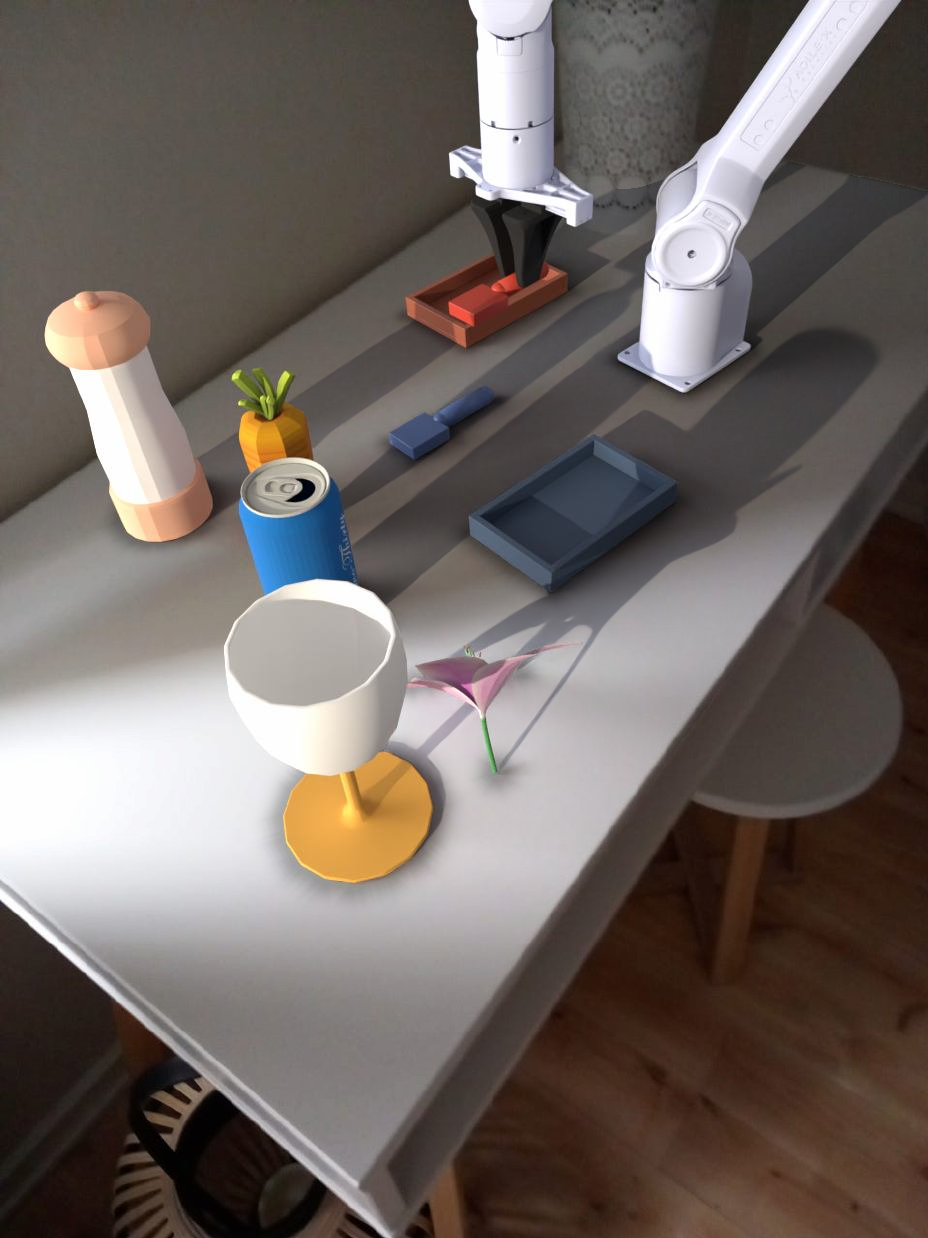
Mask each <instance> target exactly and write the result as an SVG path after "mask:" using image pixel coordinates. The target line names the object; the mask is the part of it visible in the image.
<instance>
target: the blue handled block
mask: <svg viewBox="0 0 928 1238" xmlns="http://www.w3.org/2000/svg"><path fill="white" fill-rule="evenodd" d="M494 397H495V395H494V391H493V389H492V388H491V387H490V386H487V385H482V386H479V387H478V388H476V389H474V390H473V391H470V392H469V393H468V394H465V395H464V396H462V397H461V398H459V399H457V400H455V401H454V402H452V403H450V404H449V405H447V406H445V407H444V408H442V409H440V410H439V411H437V412H435V413H434V415H433V416H432V415H430V414H429V413H427V412H422V413H421V414H419V415H417V416H416V417H413V418H412V419H411V420H409V421H407V422H405V423H403V424H402V425H400V426H398V427H397V428H395V429H393V430H392V431H390V432H389V433H388V435H389V442H390V445H392V446H393V447H395V448H396V449H397V450H399V451H400V452H402V453H403V454H405V455H406V456H407V457H409V458H411V459H412V460H414V461H415V460H417V459H418V458H421V457H422V456H424V455H426V454H427V453H429V452H430V451H432V450H434V449H435V448H437V447H439V446H441V445H442V444H443V443H445V442H447V441H449V440H450V438H451V435H450V428H451V427H452V426H454V425H455V424H457V423H459V422H460V421H462V420H464V419H466V418H467V417H470V416H471V415H472V414H474V413H476V412H478V411H479V410H481V409H482V408H485V406H488V405H489V404H490V403H492V402H493V400H494Z"/></svg>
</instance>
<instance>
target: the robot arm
mask: <svg viewBox="0 0 928 1238" xmlns="http://www.w3.org/2000/svg"><path fill="white" fill-rule="evenodd" d="M553 1H554V0H468V4H469V7H470V10H471V12H472V14H473V16H474V18H475V19H476V23H477V24H476V36H477V43H478V45H477V46H478V49H477V51H476V65H477V67H476V68H477V84H478V86H477V88H478V107H479V109H478V110H479V125H480V147H481V148H477V147H472V146H470V145H463V146H461V147H459V148H457V149H454V150H452V151H450V152H449V153H448V156H449V170H450V172H449V173H450V176H451V177H453V178H456V179H461V178H463V177H465V178H468V179H470V180H472V181H474V182H475V184H476V185H475V195H476V196H475V197H473V198H472V199H471V200H470V206H471V208H470V210H472V212H473V214H474V215H475V216H476V218H477V219H478V221H479V222H480V225H481V226H482V228H483V231H484V232H485V234H486V236H487V238H488V241H489V244H490V246H491V249H492V253H493V252H494V255H495V259H496V262H497V265H498V269H499V272H500V275H501V278H505V277H507V276H509V275H511V274H513V273H514V272H515V274H516V280H517V283H518V286H519V287H522V288H526V287H528V286H530V285H531V284H533V283H535V282H537V281H539V279H540V275H541V271H542V267H543V263H544V261H545V258H546V255H547V253H548V249H549V247H550V243H551V241H552V238H553V236H554V234H555V231H556V229H557V228H558V227H559V224H560V222H561V220H562V219H563V218H565V219H566V224H567V225H569V226H572V227H574V228H577V227H578V226H581V225H583V224H584V223H586V222H588V221H590V220H592V219H593V207H594V194H593V193H591V192H588V191H586V190H584V189H583V188H581V187H580V186H579V185H577V184H576V183H575V182H573V181H572V180H571V179H569V177H567V175H565V174H564V173H562V172H561V171H560V170H559V169H558V168H557V167H556V166H554V163H555V161H554V160H555V157H554V156H555V46H554V43H553V41H552V31H553V30H552V29H553V27H552V22H553V21H552V20H553V19H552V18H553V15H552V13H553V12H552V9H553V8H552V4H553ZM901 1H902V0H808V2H806V5H805V6H804V7H803V9H802V11H801V12H800V13H799V15H798V16H797V18H796V19H795V21H794V22H793V23H792V25H791V26H790V28H789V29H788V31H787V32H786V34H785V35H784V36H783V38H782V40H781V41H780V43H779V44H778V45H777V47H776V48H775V50H774V52H773V53H772V54H771V56H769V59H768V60H767V61H766V63H765V64H764V65H763V68H762V69H761V70H760V72H759V73H758V74H757V76H756V78H755V79H754V81H753V82H752V83H751V85H749V88H748V90H747V91H746V92H745V93H744V95H743V97H742V98H741V99H740V100H739V103H738V104H737V105H736V107H735V108H734V110H733V111H732V113H731V114H730V115H729V117H728V119H727V120H726V121H725V123H724V124H723V126H722V127H721V129H720V130H719V132H718V133H716V135H715V136H713V137H711V138H710V139H709V140H707V141H705V142H704V143H702V144H701V146H700V147H699V149H698V150H697V152H696V153H695V155H694V156H693V158H691V159H690V160H689V161H688V162H687V163H685V164H684V165H682V166H681V167H679V168H677V169H675V170H673V172H671V173H670V174H669V175H668V176H667V177H666V178H665V179H664V180H663V182H662V183H661V185H660V186H659V189H658V192H657V195H656V200H655V201H656V202H655V208H656V209H655V210H656V211H655V212H656V221H655V233H654V238H653V241H652V244H651V251H649V253H648V254H647V256H646V258H645V264H644V265H645V266H644V278H643V279H644V280H643V293H642V304H641V318H640V329H639V340H638V341H637V342H636V343H634V344H632V345H630V346H629V347H628V348H626V349H624V350H623V351H620V352H619V353H618V354H617V360H618V361H619V362H621V363H623V364H625V365H627V366H629V367H631V368H633V369H635V370H637V371H639V372H640V373H643V374H644V375H646V376H648V377H651V378H652V379H655V380H657V381H659V382H661V383H662V384H665V385H666V386H668V387H670V388H673V389H674V390H676V391H678V392H681V393H688V392H689V391H691V390H693V389H694V388H696V387H697V386H699V385H700V384H701V383H703V382H705V381H706V380H708V379H709V378H710V377H712V376H713V375H715V374H717V373H718V372H720V371H721V370H723V369H724V368H726V367H727V366H729V365H730V364H732V363H733V362H734V361H736V360H737V359H739V358H740V357H742V356H744V355H746V354H747V353H748V352H749V351H750V350H751V347H752V345H751V344H750V343H748V342H747V341H745V340H744V337H745V331H746V326H747V321H748V315H749V314H748V313H749V309H750V303H751V296H752V290H753V275H752V270H751V267H750V265H749V262H748V260H747V259H746V257H745V256H744V255H743V253H741V251H739V250H738V249H737V248H736V247H735V246H736V242H737V240H738V238H739V236H740V234H741V233H742V231H743V230H744V229H745V227H746V226H747V224H748V223H749V222H750V220H751V218H752V215H753V213H754V209H755V207H756V204H757V202H758V200H759V197H760V195H761V192H762V190H763V187H764V184H765V183H766V181H767V179H768V178H769V177H770V176H771V174H772V173H773V172H774V170H775V169H776V168H777V166H778V165H779V164H780V162H781V161H782V160H783V159H784V157H785V155H786V154H787V153H788V152H789V150H790V149H791V148H792V146H793V145H794V144H795V142H796V141H797V140H798V138H799V137H800V136H801V135H802V133H803V132H804V131H805V129H806V128H807V126H808V125H809V124H810V122H811V121H812V120H813V119H814V117H815V116H816V115H817V114H818V112H819V110H820V109H821V108H822V106H823V105H824V103H826V101H827V100H828V99H829V97H830V96H831V94H832V93H833V92H834V91H835V89H836V88H837V86H838V85H839V84H840V83H841V81H842V80H843V78H844V77H845V76H846V75H847V73H848V72H849V71H850V69H851V68H852V66H853V65H854V64H855V63H856V61H857V60H858V58H860V56H861V54H862V53H863V52H864V51H865V49H866V48H867V46H868V45H869V44H870V43H871V41H872V40H873V39H874V37H875V36H876V35H877V33H878V32H879V31H880V30H881V28H882V27H883V26H884V24H885V22H887V20H888V19H889V17H890V16H891V15H892V13H893V12H894V11H895V9H896V8H897V7H898V6H899V4H900V3H901Z"/></svg>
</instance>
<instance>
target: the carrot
mask: <svg viewBox="0 0 928 1238" xmlns="http://www.w3.org/2000/svg"><path fill="white" fill-rule="evenodd" d="M250 372H251V373H252V375H253V377H254V378H255V380H256V381H257V383H258V384H259V386H260V387H261V388H262V390H261V389H260V387H259V386H258V385H257V384H256V383H255V381H254V380H253V379H252V378H251V377H250V376H249V375H248V374H247V373H245V371H244V370H242V369H238V370H236V371H234V373H233V374H232V376H231V381H232V382H233V383H234V384H235V385H236V386H237V387H238V388H239V389H240V390H242V391H243V393H245V394H246V396H248V397H249V398H250V399H251V400H249V399H245V398H242V399H240V400H239V401H238V402H237V403H238V404H237V405H238V406H239V407H242V408H244V409H247V410H248V411H245V412H244V413H243V415H242V416H241V417H240V418H241V419H240V426H239V432H238V439H239V444H240V447H241V450H242V453H243V456H244V459H245V462H246V465H247V468H248V471H249V474H250V473H251V472H252V471H254V470H255V469H256V468H258V467H260V466H262V465H264V464H266V463H268V462H271V461H274V460H278V459H282V458H305V459H309V460H312V461H315V459H314V454H313V446H312V441H311V435H310V430H309V425H308V421H307V420H308V419H307V416H306V414H305V413H304V411H303V410H301V409H299V408H298V407H295V406H294V405H292V404H290V403H288V402H286V401H285V400H286V398H287V395H288V393H289V389H290V388H291V385H292V383H293V382H294V380H295V378H296V374H295V373H294V372H293V371H292V370H284V371H283V373H282V374H281V375H280V377H279V380H278V383H277V387H276V391H275V389H274V386H273V382H271V379H270V378H269V377H268V374H267V373H266V372H265V370H264V369H263V368H262V367H254V368H253V369H252V370H251V371H250ZM263 392H264V393H263Z"/></svg>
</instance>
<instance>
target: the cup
mask: <svg viewBox="0 0 928 1238" xmlns="http://www.w3.org/2000/svg"><path fill="white" fill-rule="evenodd" d="M223 650H224V651H223V652H224V663H225V674H226V680H227V688H228V694H229V698H230V700H231V702H232V704H233V705H234V707H235V709H236V711H237V713H238V715H239V716H240V719H241V720H242V721H243V722H244V724H245V726H246V727H247V728H248V730H249V732H250V733H251V734H252V735H253V737H254V739H255V740H256V741H257V742H258V743H259V744H260V746H261V747H263V748H264V750H266V751H267V753H269V754H270V755H271V756H272V757H274V758H276V759H278V760H279V761H280V762H283V763H285V764H287V765H289V766H291V767H293V768H294V769H296V770H298V771H301V772H303V773H305V775H304V776H303V777H302V778H301V779H300V781H299V782H298V783H297V784H296V785H295V787H294V788H293V789H292V790H291V791H290V794H289V798H288V801H287V805H286V807H285V810H284V813H283V816H282V819H283V827H284V834H285V843H286V844H287V846H288V847H289V849H290V850H291V852H292V854H293V855H294V856H295V859H296V860H297V861H298V863H299V864H300V866H301V867H304V868H305V869H307V870H309V871H311V872H312V873H313V874H316V875H317V876H319V877H320V878H322V879H324V880H330V881H336V882H337V881H339V882H343V883H353V884H356V883H360V882H364V881H369V880H373V879H377V878H382V877H385V876H387V875H389V874H390V873H391V872H394V871H395V870H396V869H398V868H399V867H401V866H402V865H404V864H406V863H407V862H408V861H410V860H411V859H412V858H413V857H414V855H415V854H416V853H417V851H418V850H419V849H420V847H421V845H423V843H424V841H425V840H426V839H427V837H428V836H429V831H430V828H431V824H432V823H431V822H432V818H433V813H434V805H433V801H432V797H431V793H430V789H429V784H428V782H427V781H426V779H425V778H424V777H423V776H422V774H421V773H420V772H419V771H418V769H416V767H415V766H414V765H413V764H412V763H410V762H409V761H406V760H404V759H402V758H400V756H397V755H395V754H392V753H391V752H389V751H382V749H383V748H384V747H385V745H386V744H387V743H388V742H389V740H390V739H391V737H392V735H393V734H394V733H395V731H396V730H397V728H398V726H399V725H398V724H399V720H400V717H401V713H402V710H403V706H404V703H405V696H406V693H407V684H408V682H409V679H408V657H407V654H406V650H405V647H404V642H403V639H402V633H401V632H400V629H399V626H398V624H397V622H396V619H395V617H394V614H393V612H392V610H391V609H390V608H389V607H388V606H387V605H386V604H385V603H384V601H382V600H381V598H380V597H379V596H378V595H377V594H376V593H375V592H374V591H372V590H369V589H367V588H364V587H362V586H360V585H359V586H357V585H355V584H353V583H350V582H348V581H337V580H324V579H314V580H309V581H304V582H300V583H295V584H290V585H285V586H283V587H281V588H279V589H277V590H275V591H273V592H271V593H270V594H268V595H266V596H265V595H264V596H262V597H260V598H258V599H256V600H255V601H254V602H253V603H252V604H251V605H249V607H248V608H247V609H246V610H245V611H244V612H243V613H242V614H241V615H240V616H239V617H238V618H237V619H236V620H234V623H233V625H232V628H231V630H230V632H229V634H228V637H227V639H226V641H225V644H224V646H223Z"/></svg>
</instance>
